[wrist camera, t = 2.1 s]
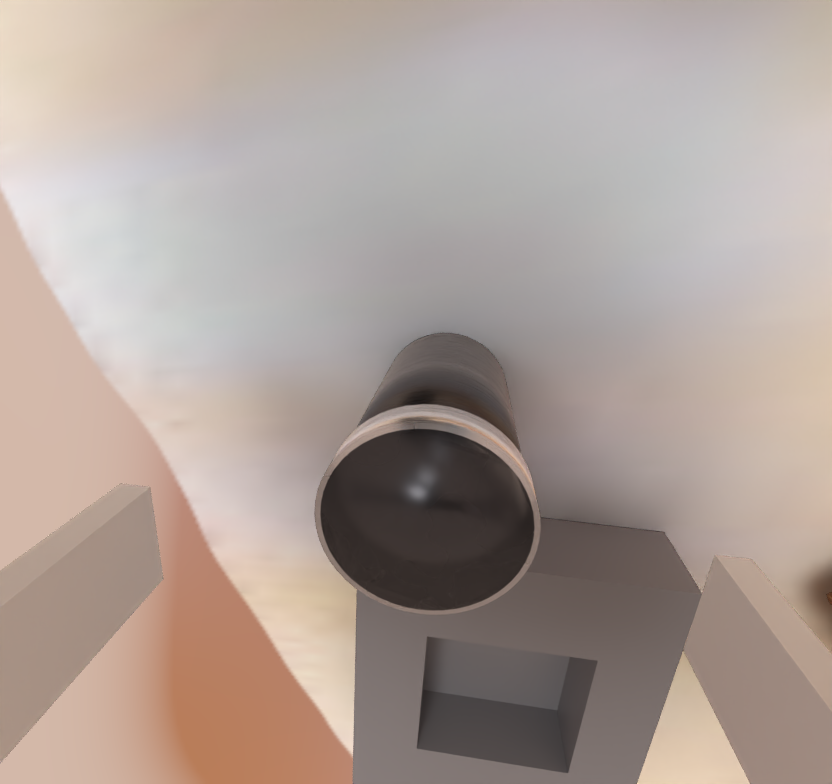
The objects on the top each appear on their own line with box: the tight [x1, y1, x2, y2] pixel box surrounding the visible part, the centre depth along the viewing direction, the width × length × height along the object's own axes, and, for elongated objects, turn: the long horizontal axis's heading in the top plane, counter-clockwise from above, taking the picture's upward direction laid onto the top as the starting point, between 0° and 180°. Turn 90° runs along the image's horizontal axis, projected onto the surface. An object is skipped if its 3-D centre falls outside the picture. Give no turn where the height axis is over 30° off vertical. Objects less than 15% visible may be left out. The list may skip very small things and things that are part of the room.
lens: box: [315, 333, 541, 615], centre depth 17 cm, size 6×6×10 cm
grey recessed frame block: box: [353, 518, 702, 784], centre depth 24 cm, size 16×14×4 cm
